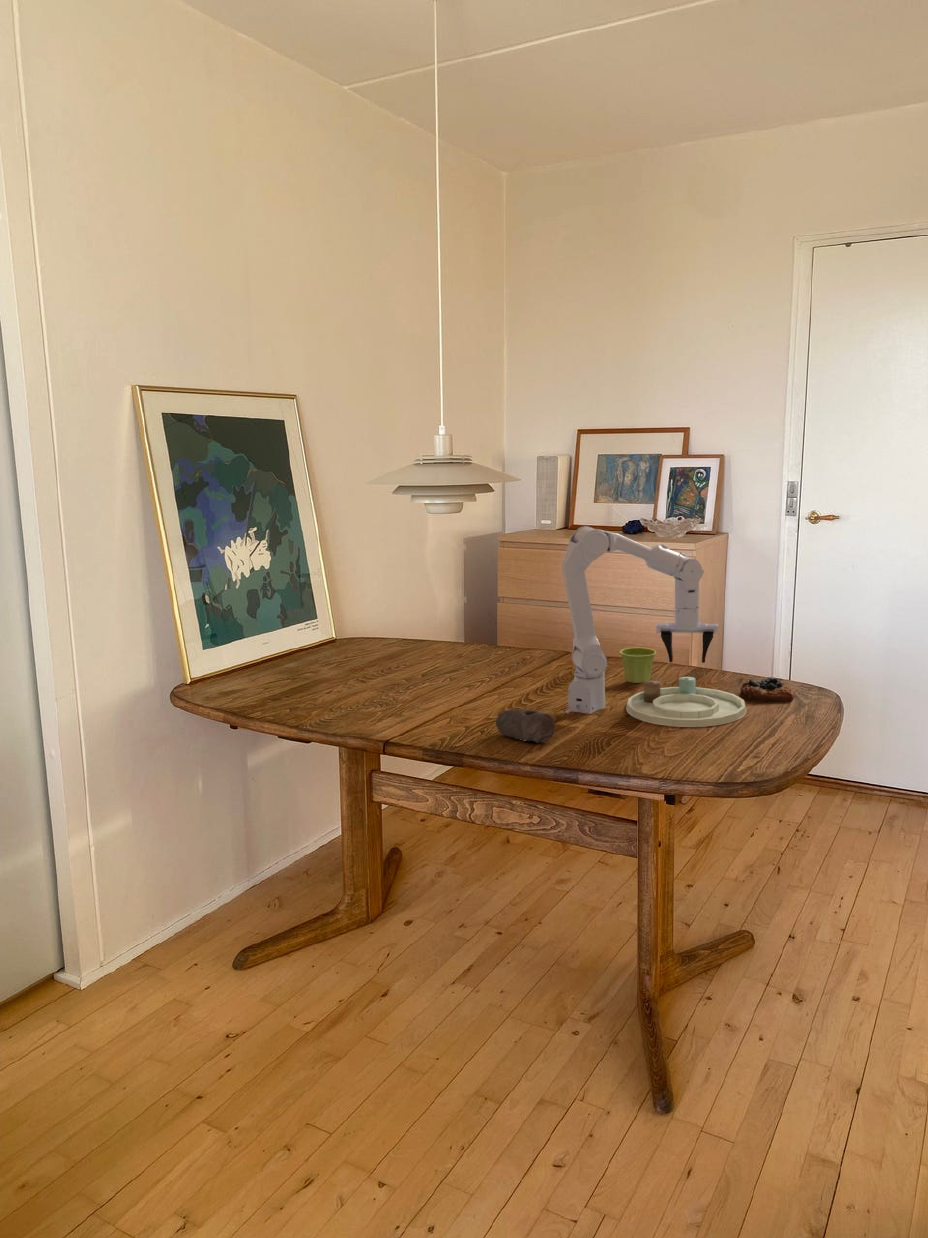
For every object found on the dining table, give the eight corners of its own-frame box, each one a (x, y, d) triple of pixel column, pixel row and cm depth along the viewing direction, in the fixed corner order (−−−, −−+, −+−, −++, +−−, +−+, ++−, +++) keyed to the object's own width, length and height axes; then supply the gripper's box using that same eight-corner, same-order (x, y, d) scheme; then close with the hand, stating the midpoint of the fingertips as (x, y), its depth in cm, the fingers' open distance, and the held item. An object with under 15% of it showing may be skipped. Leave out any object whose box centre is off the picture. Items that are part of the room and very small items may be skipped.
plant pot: (654, 678, 252) (654, 646, 250) (658, 687, 243) (657, 655, 241) (619, 679, 253) (618, 647, 252) (621, 688, 244) (621, 656, 242)
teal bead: (695, 694, 232) (695, 676, 231) (695, 699, 228) (695, 681, 227) (679, 694, 233) (679, 676, 232) (678, 698, 229) (678, 680, 228)
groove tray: (721, 738, 202) (721, 726, 202) (606, 720, 218) (605, 710, 217) (762, 704, 224) (763, 694, 223) (655, 691, 240) (655, 681, 239)
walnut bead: (656, 703, 226) (656, 685, 225) (641, 701, 228) (640, 683, 227) (663, 699, 229) (663, 681, 228) (648, 697, 231) (647, 679, 230)
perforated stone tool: (489, 736, 211) (488, 707, 210) (504, 730, 215) (503, 701, 213) (542, 749, 201) (541, 718, 200) (557, 742, 205) (556, 712, 203)
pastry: (736, 695, 234) (736, 672, 232) (785, 694, 233) (785, 671, 231) (746, 708, 223) (746, 684, 222) (797, 707, 222) (798, 683, 221)
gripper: (718, 603, 228) (718, 658, 230) (657, 603, 231) (658, 657, 234) (718, 609, 221) (717, 665, 224) (655, 609, 225) (656, 664, 227)
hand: (687, 661), depth 228 cm, fingers open, 7 cm apart
